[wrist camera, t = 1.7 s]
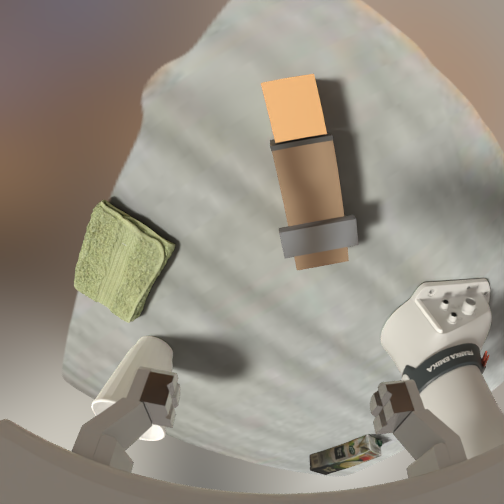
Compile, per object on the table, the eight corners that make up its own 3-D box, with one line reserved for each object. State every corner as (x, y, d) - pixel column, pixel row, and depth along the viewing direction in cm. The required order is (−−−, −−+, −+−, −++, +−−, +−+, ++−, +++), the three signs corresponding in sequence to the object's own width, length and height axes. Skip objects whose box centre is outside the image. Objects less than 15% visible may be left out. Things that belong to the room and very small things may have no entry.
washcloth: (181, 239, 38) (174, 251, 35) (138, 318, 46) (132, 331, 43) (102, 191, 35) (89, 198, 33) (75, 278, 43) (65, 289, 40)
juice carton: (370, 431, 62) (373, 450, 57) (383, 439, 65) (386, 456, 60) (308, 453, 69) (308, 471, 64) (325, 459, 73) (326, 475, 67)
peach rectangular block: (307, 78, 27) (313, 73, 23) (318, 129, 30) (326, 133, 25) (262, 86, 28) (260, 83, 24) (274, 137, 31) (275, 142, 26)
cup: (159, 376, 53) (137, 443, 39) (113, 339, 48) (79, 406, 34) (200, 358, 49) (181, 436, 35) (150, 315, 45) (113, 393, 30)
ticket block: (331, 129, 30) (344, 135, 24) (347, 239, 36) (359, 264, 31) (261, 142, 31) (260, 150, 26) (286, 250, 38) (288, 277, 32)
